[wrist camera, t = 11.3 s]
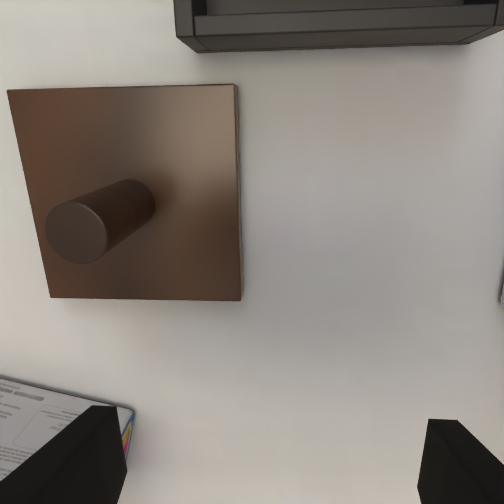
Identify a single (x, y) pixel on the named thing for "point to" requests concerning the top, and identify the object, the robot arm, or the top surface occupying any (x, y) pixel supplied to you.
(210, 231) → the tape holder
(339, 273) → the top surface
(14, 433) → the ink cartridge box
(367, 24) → the tray
